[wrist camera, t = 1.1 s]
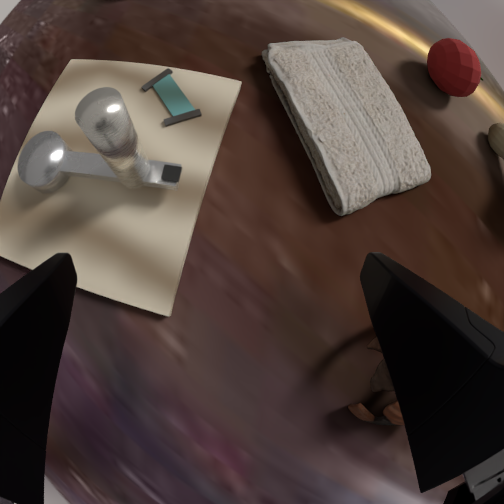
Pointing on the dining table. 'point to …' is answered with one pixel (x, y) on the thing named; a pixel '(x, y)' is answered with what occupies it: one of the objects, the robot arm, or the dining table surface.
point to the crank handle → (105, 142)
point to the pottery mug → (377, 384)
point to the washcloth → (346, 121)
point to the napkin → (115, 193)
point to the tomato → (454, 67)
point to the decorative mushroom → (497, 138)
